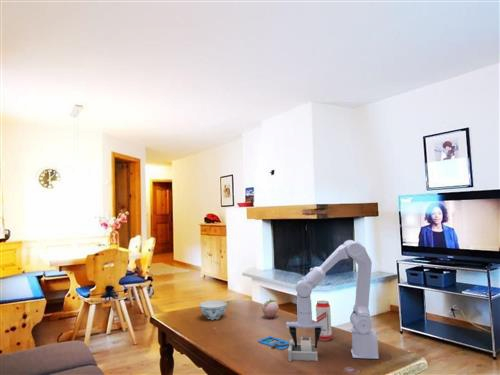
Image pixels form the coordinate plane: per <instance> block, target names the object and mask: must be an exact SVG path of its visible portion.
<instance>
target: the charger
mask: <svg viewBox="0 0 500 375" xmlns="http://www.w3.org/2000/svg"><path fill="white" fill-rule="evenodd" d="M300 344H301V351H306V352H312V347H311V344H312V337H310V336H308V337H307V336H300Z"/></svg>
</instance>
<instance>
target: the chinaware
mask: <svg viewBox="0 0 500 375" xmlns="http://www.w3.org/2000/svg"><path fill="white" fill-rule="evenodd" d="M227 306H228V303H227V301H226V300H225V301H223V300H207V301H203V302H200V304H199V307H200V311H201V313H202V315H204V316H205V318H207V320H209V319H211V321H215V320H214V319H216V320H220V318H221V316H222V315H224V313H225V311H226V309H227Z"/></svg>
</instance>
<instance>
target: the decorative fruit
mask: <svg viewBox="0 0 500 375" xmlns="http://www.w3.org/2000/svg"><path fill="white" fill-rule="evenodd" d="M279 308H280V307H279V305H278V303H277V300H275V299H269V300H267V301H264V302H263V304H262V306H261V309H262V312H263V314H264V315H265V316H266V317H268V318H270V319H271V318H273V317H275V316H276V314H278V311H279Z"/></svg>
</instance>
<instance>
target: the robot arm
mask: <svg viewBox="0 0 500 375" xmlns="http://www.w3.org/2000/svg"><path fill="white" fill-rule="evenodd" d="M349 258H352V260H354V262H356V264H357V274H356V290H355V300H354V306H353V307H352V308H353V310H352V313H350V316H349V320H350V323H351V324H352V327H351V342H352V343H351V344H352V348H350V352H351V355H352V358H353V359H372V360H373V359H375V360H377V359H380V357H379V344H378V336H377V335H378V334H377V331H374V330H372V326H373V325H372V321H371V318H370V317H371V314H370V308H369V307H370V306H369V304H370V291H371V290H370V289H371V277H372V263H373V262H372V259H371V257H370V256H369V254H368V251H367V249H366V247H365V246H364V245H362V244H361V243H360V242H359V241H356V240H353V239H347V240H345V241H344V242H343V244H340V245H339V246H338V247H337V248H336V249H335V250H334V251H333V252H332V253H331V254H329V256H328V257H327V258H326V259H325V261H324V262H322V264H321V265H320V266H314V267H311V268H309V272H308V273H307V274H306V275H305V276H302V277H301V278H300V279H301V280H299V281H297V282H296V284H295V288H294V289H295V291H296V298H297V299H296V311H297V312H296V316H297V321H286V329H289V331H288V332H289V333H290V335H291V338H292V340H293V343H295V348H297V344H298V339H297V329H314V344H315V348H316V349H318V342H319V340H320V339H319V336H320V334H321V329H324V323H320V322H317V321H313V312H312V311H313V310H312V299H311V294H312V293H313V292H312V291H313V289H315V288H317V286H318V285H319V284H320V283H321V282H322V281H323V280H324V279H325V278H326V273H327V272H328V271H329V270H331V269H332V268H333V267H334V266H335V265H336V264H337V263H338V262H340V261H341V260H347V259H349Z"/></svg>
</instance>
